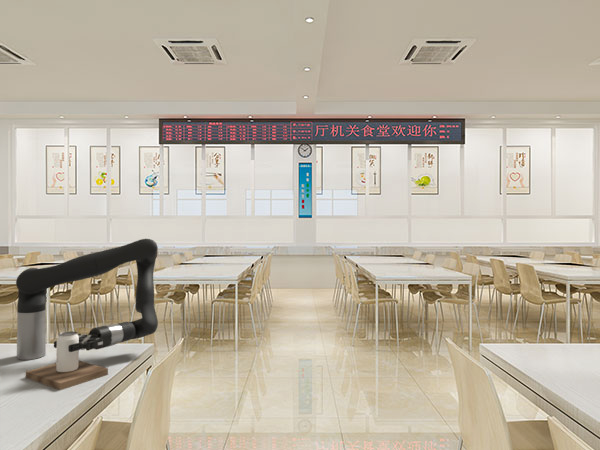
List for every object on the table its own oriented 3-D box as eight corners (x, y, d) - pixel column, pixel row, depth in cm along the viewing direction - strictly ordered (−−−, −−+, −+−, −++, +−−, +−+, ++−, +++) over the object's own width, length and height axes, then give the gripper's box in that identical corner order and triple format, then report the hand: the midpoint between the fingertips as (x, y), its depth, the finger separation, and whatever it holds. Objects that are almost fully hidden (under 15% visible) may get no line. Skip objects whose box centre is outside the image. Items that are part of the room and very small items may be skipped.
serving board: (25, 377, 142) (25, 371, 142) (73, 364, 155) (73, 358, 155) (60, 390, 131) (60, 383, 131) (107, 374, 145) (107, 368, 145)
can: (69, 373, 140) (69, 336, 140) (51, 372, 141) (52, 335, 141) (82, 367, 146) (83, 331, 146) (66, 366, 147) (66, 330, 147)
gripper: (94, 323, 159) (49, 332, 145) (119, 328, 152) (74, 338, 138) (94, 343, 159) (49, 354, 145) (119, 349, 152) (74, 362, 138)
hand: (61, 346), depth 142 cm, fingers open, 8 cm apart
